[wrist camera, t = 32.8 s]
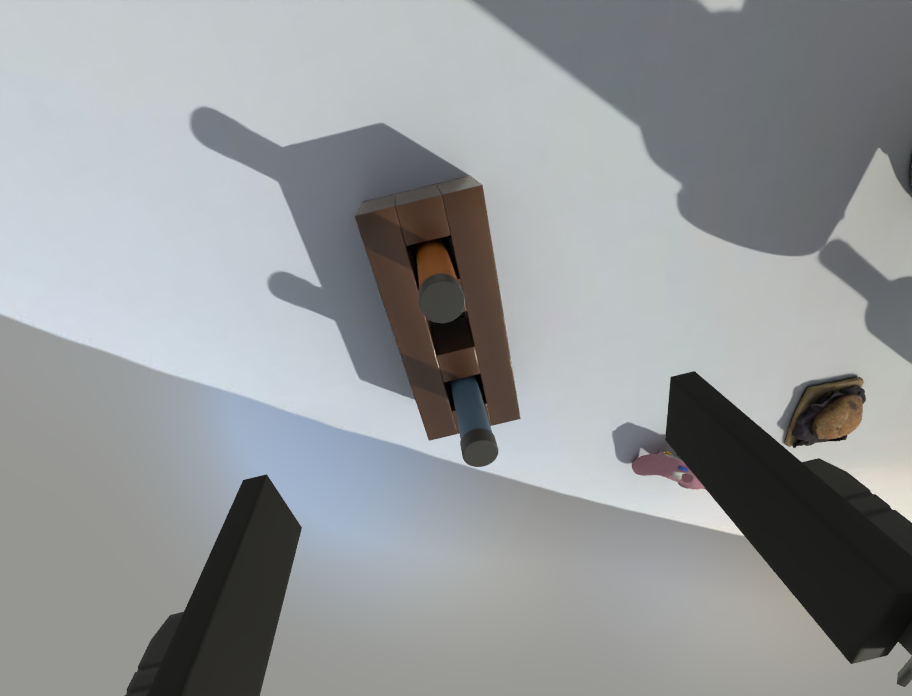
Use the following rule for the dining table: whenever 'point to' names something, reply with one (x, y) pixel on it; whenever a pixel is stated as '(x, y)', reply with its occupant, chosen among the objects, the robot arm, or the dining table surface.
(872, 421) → the dining table surface
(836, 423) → the bread roll
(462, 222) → the rack
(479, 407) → the smoke-blue tube
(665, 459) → the video game controller
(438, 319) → the amber tube
